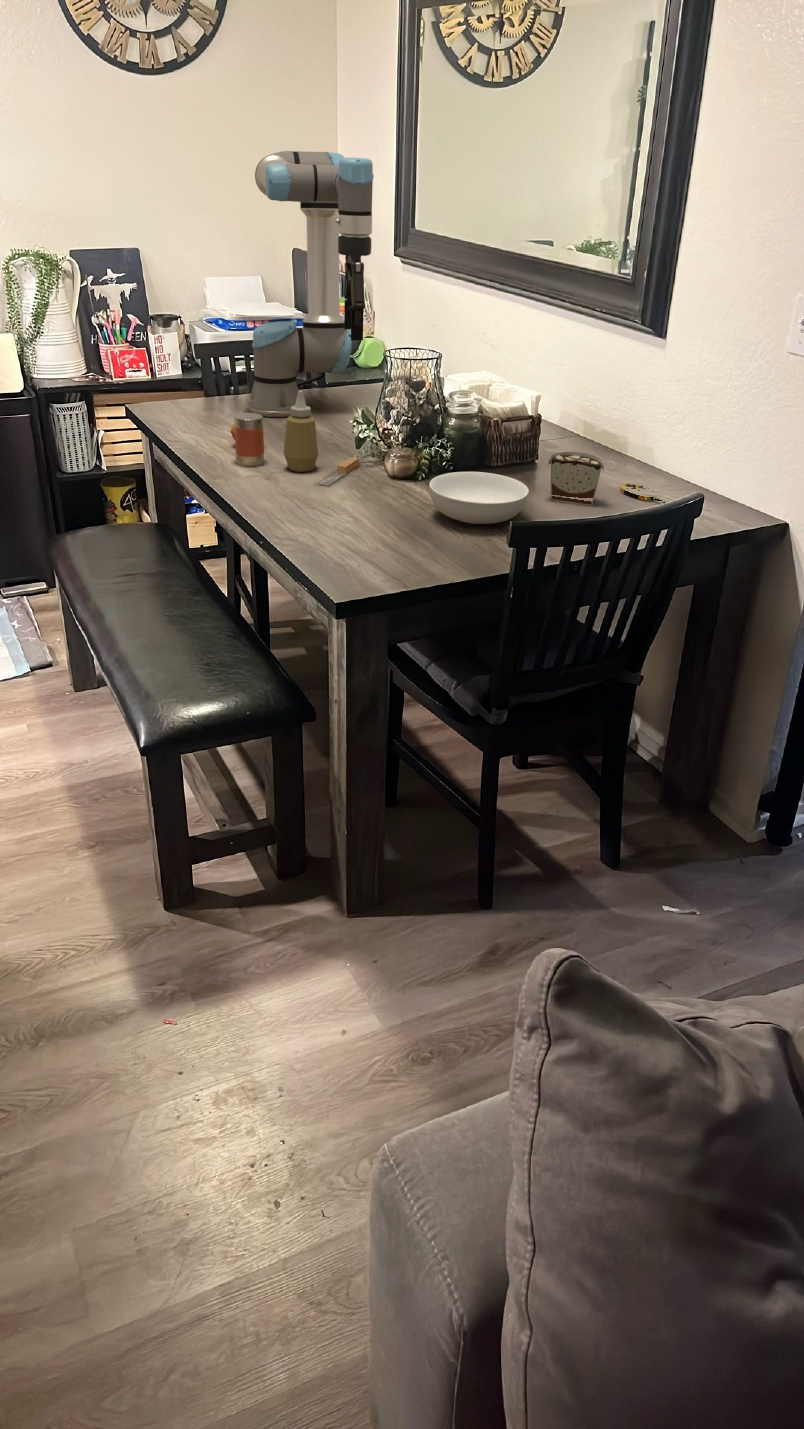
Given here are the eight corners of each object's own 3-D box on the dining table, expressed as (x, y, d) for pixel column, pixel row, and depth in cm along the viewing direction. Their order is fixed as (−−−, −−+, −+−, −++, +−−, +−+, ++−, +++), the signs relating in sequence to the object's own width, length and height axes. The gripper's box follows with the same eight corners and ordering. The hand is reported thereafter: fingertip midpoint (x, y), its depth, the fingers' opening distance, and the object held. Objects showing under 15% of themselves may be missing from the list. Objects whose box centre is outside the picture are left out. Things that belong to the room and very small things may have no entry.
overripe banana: (631, 480, 247) (680, 498, 237) (630, 488, 248) (679, 506, 238) (616, 483, 245) (665, 501, 234) (615, 491, 246) (663, 510, 235)
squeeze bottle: (284, 463, 255) (282, 387, 246) (318, 464, 256) (318, 387, 247) (283, 473, 248) (282, 395, 239) (318, 474, 249) (318, 396, 240)
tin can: (244, 457, 259) (242, 411, 253) (269, 460, 257) (268, 414, 251) (230, 464, 253) (228, 417, 248) (256, 468, 251) (254, 421, 246)
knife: (350, 464, 257) (350, 456, 256) (359, 465, 256) (359, 458, 255) (318, 484, 242) (318, 476, 241) (328, 486, 241) (328, 478, 240)
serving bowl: (459, 540, 214) (461, 507, 211) (410, 508, 230) (411, 477, 227) (545, 527, 223) (548, 495, 219) (492, 497, 239) (494, 467, 235)
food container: (603, 499, 241) (609, 455, 236) (598, 507, 235) (604, 462, 230) (549, 491, 244) (554, 448, 239) (544, 499, 239) (548, 455, 234)
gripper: (332, 229, 249) (331, 324, 259) (344, 241, 227) (343, 344, 238) (364, 230, 250) (362, 324, 260) (379, 242, 229) (376, 345, 239)
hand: (353, 334), depth 249 cm, fingers open, 13 cm apart
